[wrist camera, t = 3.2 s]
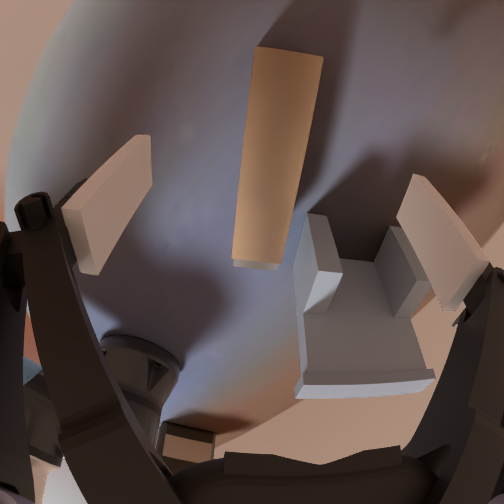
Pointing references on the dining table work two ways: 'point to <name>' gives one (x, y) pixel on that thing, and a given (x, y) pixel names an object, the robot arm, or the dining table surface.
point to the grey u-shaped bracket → (357, 317)
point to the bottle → (184, 446)
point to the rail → (273, 153)
